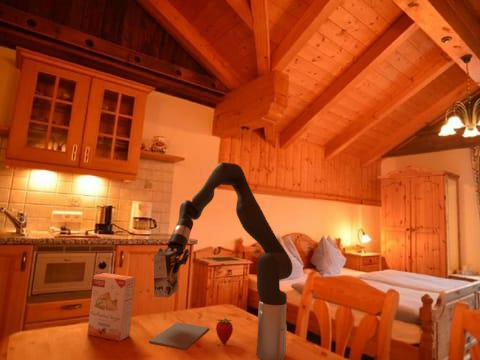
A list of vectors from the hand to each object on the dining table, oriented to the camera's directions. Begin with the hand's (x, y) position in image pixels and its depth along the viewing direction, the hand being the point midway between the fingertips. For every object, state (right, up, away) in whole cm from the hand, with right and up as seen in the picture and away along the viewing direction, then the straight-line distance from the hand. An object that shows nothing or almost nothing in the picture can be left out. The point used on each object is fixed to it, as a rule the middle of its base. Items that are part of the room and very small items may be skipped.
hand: (166, 272), depth 120 cm
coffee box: (0, -9, 0) cm, 9 cm away
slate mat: (+8, -21, -9) cm, 24 cm away
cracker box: (-17, -19, -13) cm, 29 cm away
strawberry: (+24, -21, -15) cm, 35 cm away
